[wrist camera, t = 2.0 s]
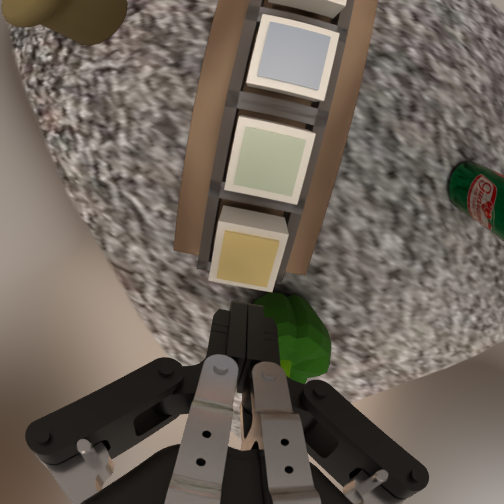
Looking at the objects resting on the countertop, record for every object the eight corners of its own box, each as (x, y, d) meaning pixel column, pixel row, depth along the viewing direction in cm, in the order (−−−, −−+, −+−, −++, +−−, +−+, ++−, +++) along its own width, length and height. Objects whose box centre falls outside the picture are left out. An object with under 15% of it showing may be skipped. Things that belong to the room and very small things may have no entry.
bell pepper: (279, 261, 28) (289, 336, 19) (334, 308, 31) (357, 382, 22) (221, 313, 31) (210, 390, 22) (277, 351, 34) (282, 424, 25)
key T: (328, 42, 16) (340, 32, 13) (314, 101, 18) (325, 100, 15) (261, 26, 15) (262, 12, 12) (247, 86, 17) (245, 82, 14)
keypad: (375, -9, 16) (394, -24, 13) (303, 268, 28) (310, 294, 25) (234, -44, 15) (231, -66, 12) (176, 244, 27) (164, 267, 24)
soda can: (446, 160, 23) (535, 203, 12) (482, 160, 23) (567, 200, 12) (444, 209, 25) (520, 271, 15) (479, 206, 25) (554, 260, 14)
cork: (137, 19, 18) (68, -20, 8) (81, 58, 19) (-3, 50, 9) (114, -24, 15) (49, -67, 6) (62, 15, 17) (-16, -4, 7)
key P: (284, 217, 21) (289, 236, 19) (270, 270, 23) (272, 294, 21) (223, 205, 21) (217, 222, 18) (213, 259, 23) (207, 283, 20)
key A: (307, 129, 19) (316, 134, 16) (291, 191, 21) (297, 206, 18) (241, 114, 18) (238, 116, 15) (228, 177, 20) (223, 191, 17)
